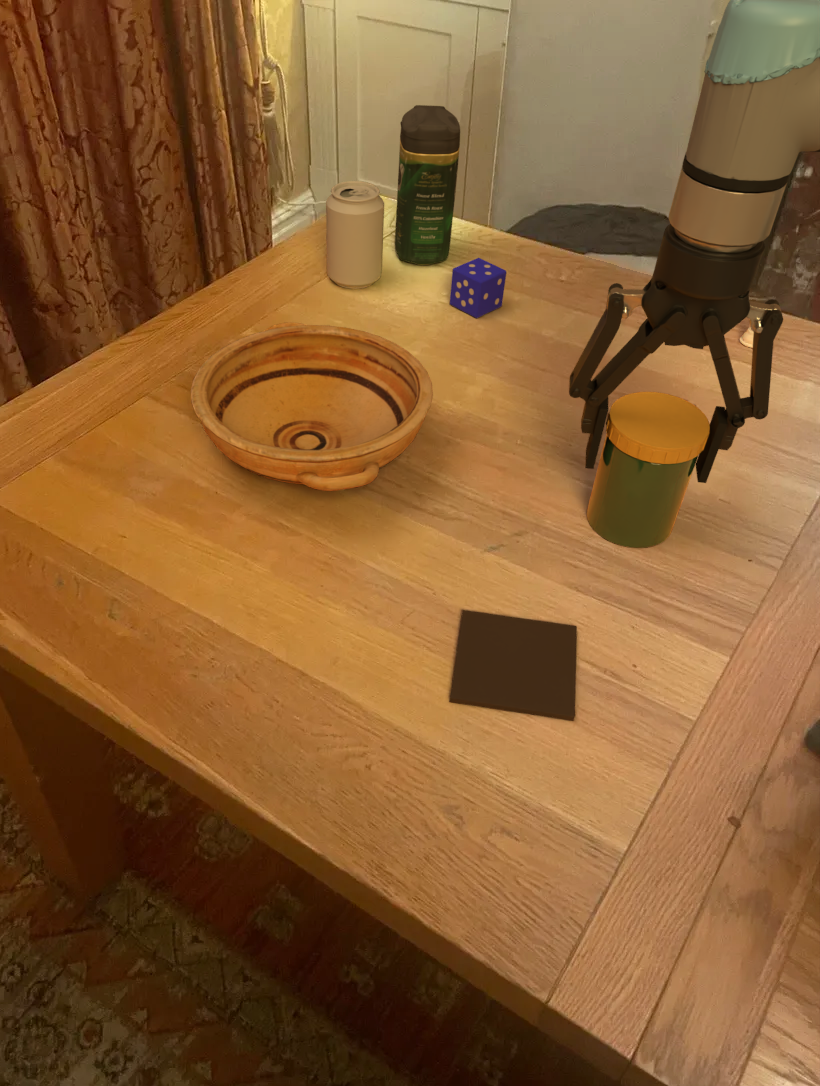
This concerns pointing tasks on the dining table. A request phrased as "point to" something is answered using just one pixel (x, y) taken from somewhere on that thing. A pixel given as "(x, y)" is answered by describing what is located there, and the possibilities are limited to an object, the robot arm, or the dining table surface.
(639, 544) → the jar
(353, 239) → the can
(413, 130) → the coffee jar
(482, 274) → the die
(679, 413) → the jar lid
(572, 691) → the coaster
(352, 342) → the ceramic bowl
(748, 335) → the chess pawn
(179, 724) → the dining table surface
